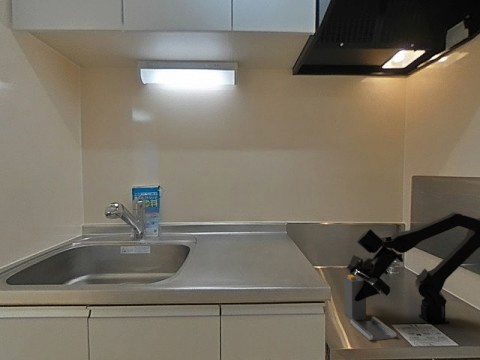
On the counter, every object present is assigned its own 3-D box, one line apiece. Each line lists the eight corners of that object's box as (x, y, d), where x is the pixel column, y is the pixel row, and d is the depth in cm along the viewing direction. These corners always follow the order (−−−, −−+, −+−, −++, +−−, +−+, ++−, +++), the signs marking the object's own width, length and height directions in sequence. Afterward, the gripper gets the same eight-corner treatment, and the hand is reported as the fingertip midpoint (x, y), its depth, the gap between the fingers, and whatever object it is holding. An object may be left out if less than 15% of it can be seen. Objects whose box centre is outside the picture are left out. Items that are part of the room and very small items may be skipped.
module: (358, 312, 112) (357, 272, 112) (366, 319, 107) (365, 277, 107) (344, 314, 112) (344, 273, 111) (352, 320, 107) (351, 278, 106)
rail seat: (374, 321, 106) (374, 316, 106) (396, 337, 95) (396, 332, 95) (350, 323, 104) (350, 319, 104) (369, 340, 94) (369, 335, 94)
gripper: (351, 241, 119) (323, 273, 117) (381, 253, 101) (349, 291, 99) (371, 261, 120) (343, 293, 119) (404, 277, 102) (372, 315, 100)
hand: (351, 297), depth 109 cm, fingers closed on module, 5 cm apart
